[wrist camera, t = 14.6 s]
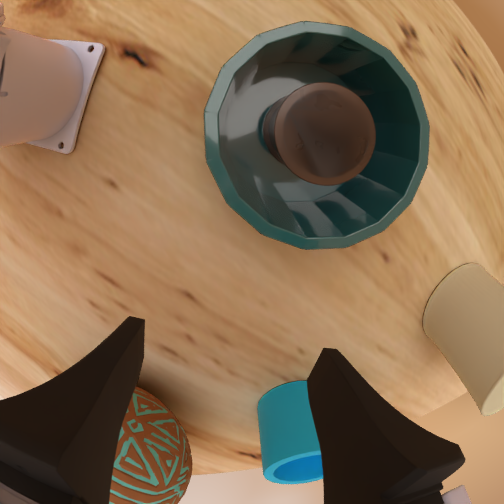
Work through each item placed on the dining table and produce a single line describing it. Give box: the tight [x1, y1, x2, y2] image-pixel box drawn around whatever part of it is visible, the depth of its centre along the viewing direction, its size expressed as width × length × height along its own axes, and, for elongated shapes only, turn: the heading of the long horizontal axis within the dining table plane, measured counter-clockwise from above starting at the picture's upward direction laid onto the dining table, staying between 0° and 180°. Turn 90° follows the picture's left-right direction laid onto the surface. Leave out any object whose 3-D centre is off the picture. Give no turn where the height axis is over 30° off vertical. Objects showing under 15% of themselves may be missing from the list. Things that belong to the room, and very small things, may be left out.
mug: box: [257, 381, 323, 484], centre depth 24 cm, size 12×8×8 cm
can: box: [423, 263, 504, 416], centre depth 19 cm, size 9×9×12 cm
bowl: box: [204, 21, 430, 250], centre depth 14 cm, size 10×10×7 cm
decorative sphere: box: [109, 386, 192, 504], centre depth 20 cm, size 15×15×15 cm
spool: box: [263, 82, 376, 186], centre depth 14 cm, size 5×5×6 cm
